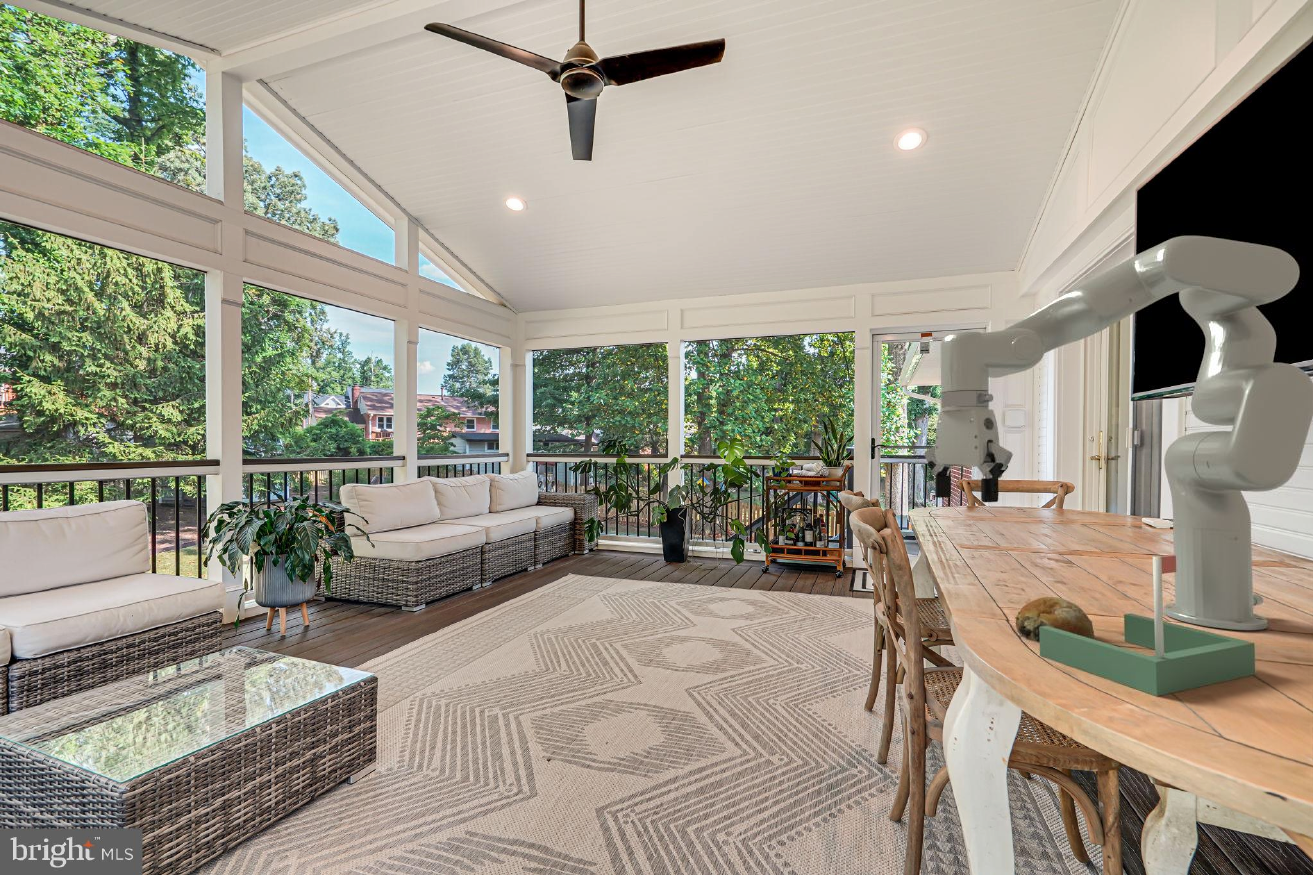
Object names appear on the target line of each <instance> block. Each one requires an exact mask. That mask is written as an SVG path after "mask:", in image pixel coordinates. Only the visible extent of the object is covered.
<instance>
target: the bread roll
mask: <svg viewBox="0 0 1313 875" xmlns="http://www.w3.org/2000/svg"><path fill="white" fill-rule="evenodd" d="M1014 619H1015V625H1016V626H1015V627H1016V630H1017V632H1018V633H1019V635H1021V636H1023V637H1024V638H1025V639H1027V640H1029V641H1032V642H1037V643H1040V637H1039V627H1042V626H1049V627H1053V628H1056V629H1060V630H1063V631H1066V632H1070V633H1073V634H1077V635H1080V636H1083V637H1087V638H1090V639H1093V640H1096V638H1095V634H1094V633H1095V631H1094V628H1093V621H1092V620H1091V619H1090V618H1089V617H1088V615H1087V614H1086V612H1085V611H1084V609H1082V608H1081V607H1079V605H1077V604H1076V603H1074V602H1072V601H1071V600H1067V599H1065V598H1061V597H1054V596H1044V597H1039V598H1037V599H1034V600H1032V601H1030V602H1028V603H1026V604H1025V605H1023V606H1022V607H1021V609H1020V610H1019V611H1018V612H1017V615H1016V616H1015V617H1014Z"/></svg>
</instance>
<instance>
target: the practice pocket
mask: <svg viewBox="0 0 1313 875" xmlns="http://www.w3.org/2000/svg"><path fill="white" fill-rule="evenodd" d="M1174 572H1176V556H1175V555H1174V554H1173V555H1165V556H1152V581H1153V585H1152V586H1153V613H1154V614H1153V616H1154V618H1151V617H1147V616H1144V615H1139V614H1134V613H1125V614H1123V622H1124V624H1123V625H1124V627H1123V628H1124V629H1123V630H1124V631H1123V632H1124V642H1127V643H1131V644H1133V645H1138V646H1142V647H1145V648H1149V649H1152V650H1154V651H1155V652H1154V655H1147V654H1144V653H1141V652H1137V651H1133V650H1130V649H1127V648H1124V647H1120V646H1117V645H1114V644H1110V643H1106V642H1103V641H1100V640H1096V639H1095V640H1093V639H1090V638H1087V637H1083V636H1080V635H1077V634H1073V633H1070V632H1066V631H1063V630H1060V629H1056V628H1053V627H1049V626H1042V627H1039V637H1040V642H1039V656H1041V657H1044V658H1046V659H1048V660H1052V661H1055V662H1058V663H1061V664H1063V665H1066V666H1069V667H1072V668H1075V669H1077V670H1080V671H1083V672H1086V673H1089V674H1092V675H1095V676H1098V677H1101V678H1103V679H1107V680H1109V681H1112V682H1114V683H1117V684H1121V685H1123V686H1127V687H1129V688H1131V689H1135V690H1138V691H1140V692H1143V693H1146V694H1149V695H1151V696H1155V697H1159V696H1164V695H1168V694H1173V693H1179V692H1182V691H1183V692H1184V691H1187V690H1192V689H1196V688H1200V687H1204V686H1210V685H1215V684H1218V683H1224V682H1227V681H1233V680H1236V679H1241V678H1245V677H1246V678H1247V677H1250V676H1253V675H1256V651H1255V649H1256V648H1255V647H1256V646H1255V642H1252V641H1248V640H1243V639H1239V638H1235V637H1231V636H1226V635H1223V634H1219V633H1215V632H1210V631H1206V630H1202V629H1198V628H1193V627H1189V626H1185V625H1180V624H1177V623H1174V622H1173V623H1172V622H1168V621H1164V603H1163V599H1164V598H1163V597H1164V596H1163V574H1170V573H1171V574H1173V573H1174Z"/></svg>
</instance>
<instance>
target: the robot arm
mask: <svg viewBox="0 0 1313 875" xmlns="http://www.w3.org/2000/svg"><path fill="white" fill-rule="evenodd" d="M1299 278H1300V266H1299V264H1298V262H1297V261H1296V260H1295V258H1294V257H1293V256H1292V255H1290V253H1288V252H1286V251H1284V250H1282V249H1281V248H1277V247H1274V246H1268V245H1262V244H1258V243H1250V242H1245V241H1238V240H1233V239H1232V240H1231V239H1226V238H1217V237H1212V236H1203V235H1202V236H1201V235H1180V236H1175V237H1172V238H1169V239H1168V240H1166V241H1163V242H1161V243H1159V244H1157V245H1154V246H1153V247H1151V248H1148V249H1146V250H1144V251H1142V252H1140V253H1138V254H1135V255H1134V256H1132V257H1130V258H1128V259H1127V260H1124V261H1123V262H1121V263H1119V264H1118V265H1115V266H1114V267H1112V268H1111V269H1109V270H1107V271H1105V272H1103V273H1101V274H1099V275H1098V276H1096V277H1095V278H1094V277H1093V278H1092V279H1090V280H1089V281H1087V282H1085V283H1083V284H1082V285H1080V286H1077V287H1075V288H1074V289H1072V290H1070V291H1069V292H1067V293H1065V294H1064V295H1061V296H1059V297H1058V298H1057V299H1055V300H1053V301H1051V302H1050V303H1049V304H1047V305H1045V306H1043V307H1042V308H1040V309H1038V310H1037V311H1036V312H1033V313H1032V314H1030V315H1028V316H1026V317H1023V319H1021V320H1019V321H1017V322H1015V323H1013V324H1011V325H1010V326H1007V327H1006V328H1005V329H1003V330H1002V329H1001V330H997V331H989V332H980V331H960V332H954V333H950V334H948V335H945V336H944V337H943V338H942V339H941V343H940V400H941V401H940V409H941V410H940V411H939V412H938V417H937V422H936V431H935V443H934V444H935V445H933V446H931V447H930V448H928V449H927V450H926V451H924V454H923V455H924V458H925V460H926V462H927V467H928V468H929V469H930V470H931V474H932V476H934V487H935V488H934V492H935V493H934V494H935V498H939V499H941V498H950V497H951V496H952V477H951V475H948V474H949V473H950V471H951V470H952V469H953V467H962V468H963V467H967V468H970V467H971V468H974V467H975V468H976V467H977V468H978V470H979V472H980V473H981V474H982V476H983V477H984V478H982V477H981V479H980V497H981V498H980V500H981V502H983V503H998V501H999V479H1002V477H1003V474H1004V473H1005V472H1006V471H1007V470H1008V468H1009V464H1010V463H1011V460H1012V459H1013V455H1014V454H1013V452H1012V451H1010V450H1008V449H1006V448H1004V447H1003V446H1001V445H1000V437H999V436H1000V435H999V428H998V422H997V417H996V414H995V411H994V409H990V403H991V402H993V401H994V396H993V394H992V393H990V384H989V383H990V378H991V379H998V378H1003V377H1005V376H1010V375H1014V374H1017V373H1021V372H1022V373H1023V372H1025V371H1027V370H1030V369H1032V368H1034V367H1035V366H1037V364H1038V363H1040V362H1041V361H1042V359H1043V358H1044V355H1045V354H1046V353H1048V352H1051V351H1053V350H1055V349H1058V348H1060V347H1063V346H1065V345H1068V344H1072V343H1075V342H1079V341H1081V340H1083V339H1086V338H1088V337H1090V336H1093V335H1095V334H1098V333H1099V332H1102V331H1104V330H1105V329H1108V328H1109V327H1111V326H1113V325H1114V324H1117V323H1118V322H1120V321H1122V320H1123V319H1126V318H1127V317H1129V316H1131V315H1132V314H1135V313H1136V312H1138V311H1140V310H1142V309H1144V308H1146V307H1148V306H1149V305H1152V304H1154V303H1155V302H1157V301H1159V300H1161V299H1163V298H1165V297H1167V296H1170V295H1172V294H1175V293H1178V297H1179V303H1180V305H1181V306H1182V308H1183V310H1184V311H1185V312H1186V313H1187V314H1188V315H1189V316H1190V317H1191V318H1192V319H1194V320H1195V322H1196V323H1197V325H1198V326H1199V327H1200V329H1201V330H1202V332H1203V335H1204V337H1205V347H1204V353H1203V358H1202V361H1201V364H1200V367H1199V371H1198V373H1197V378H1196V382H1195V384H1194V388H1193V392H1192V396H1191V402H1190V407H1191V411H1192V413H1193V415H1194V416H1195V418H1197V419H1198V420H1199V421H1200V422H1202V423H1205V424H1208V425H1209V424H1210V425H1212V426H1213V425H1214V426H1223V427H1224V426H1227V427H1228V426H1232V429H1231V430H1230V431H1229V430H1217V431H1215V430H1214V431H1198V432H1193V433H1189V434H1184V435H1182V436H1180V437H1178V438H1176V439H1175V440H1174V441H1173V442H1172V443H1171V444H1170V445H1169V446H1168V448H1167V449H1166V451H1165V454H1164V459H1163V460H1164V461H1163V462H1164V464H1163V465H1164V471H1165V474H1166V479H1167V481H1168V486H1169V490H1170V495H1171V503H1172V504H1171V505H1172V506H1171V507H1172V519H1173V520H1172V522H1173V523H1172V529H1173V530H1172V531H1173V534H1172V535H1173V537H1172V538H1173V555H1175V556H1176V572H1173V573H1174V574H1173V575H1174V600H1175V601H1174V603H1169V604H1165V605H1163V614H1165V615H1166V616H1168V617H1170V618H1172V619H1174V620H1178V621H1181V622H1184V623H1189V624H1193V625H1198V626H1204V627H1209V628H1216V629H1217V628H1218V629H1224V630H1225V629H1226V630H1233V631H1234V630H1236V631H1260V630H1264V629H1267V628H1268V626H1269V625H1268V619H1266V618H1265V617H1264V616H1262V615H1259V614H1257V613H1254V607H1255V606H1260V605H1262V604H1263V603H1264V598H1263V597H1262V596H1261V595H1260V594H1258V593H1254V590H1253V589H1254V587H1253V586H1254V585H1253V560H1252V559H1253V558H1252V556H1253V554H1252V552H1253V551H1252V549H1253V548H1252V519H1251V518H1252V517H1251V514H1250V510H1249V509H1250V508H1249V507H1248V506H1249V505H1248V503H1247V500H1246V499H1245V497H1244V495H1243V493H1242V492H1253V493H1254V492H1256V493H1257V492H1262V493H1263V492H1269V491H1273V490H1276V489H1278V488H1280V487H1282V486H1284V485H1285V484H1286V483H1288V482H1289V480H1290V479H1291V478H1292V477H1293V475H1294V474H1295V472H1296V471H1297V468H1298V466H1299V465H1300V464H1299V463H1300V460H1301V457H1302V455H1303V451H1304V448H1305V444H1306V442H1307V441H1306V440H1307V437H1308V434H1309V431H1310V428H1311V423H1312V420H1313V381H1312V379H1311V377H1310V376H1309V374H1307V373H1306V372H1305V371H1304V370H1303V369H1302V368H1299V367H1298V366H1295V365H1293V364H1290V363H1284V362H1274V357H1275V352H1276V348H1277V335H1276V331H1275V329H1274V327H1273V326H1272V324H1271V323H1270V322H1269V320H1268V319H1267V318H1266V317H1265V315H1264V314H1262V312H1261V311H1260V310H1259V309H1258V308H1257V306H1260V305H1266V304H1270V303H1272V302H1275V301H1276V300H1279V299H1281V298H1282V297H1283V298H1284V296H1286V295H1287V294H1289V293H1290V292H1291V291H1292V290H1293V289H1294V288H1295V286H1296V285H1297V284H1298V281H1299Z"/></svg>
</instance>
